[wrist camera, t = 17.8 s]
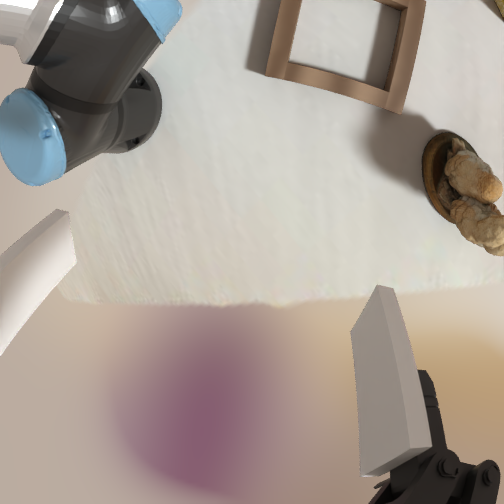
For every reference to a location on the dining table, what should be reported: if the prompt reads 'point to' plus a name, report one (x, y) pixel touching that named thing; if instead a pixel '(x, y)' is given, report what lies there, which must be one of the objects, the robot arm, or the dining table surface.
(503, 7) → the juice carton
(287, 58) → the square wooden frame
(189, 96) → the dining table surface
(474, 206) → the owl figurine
